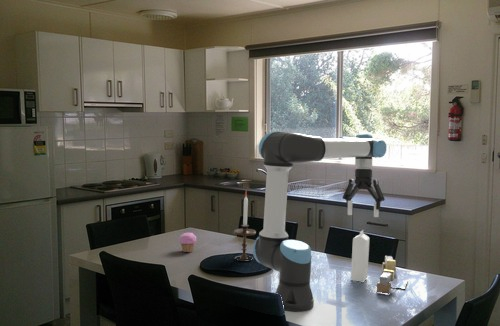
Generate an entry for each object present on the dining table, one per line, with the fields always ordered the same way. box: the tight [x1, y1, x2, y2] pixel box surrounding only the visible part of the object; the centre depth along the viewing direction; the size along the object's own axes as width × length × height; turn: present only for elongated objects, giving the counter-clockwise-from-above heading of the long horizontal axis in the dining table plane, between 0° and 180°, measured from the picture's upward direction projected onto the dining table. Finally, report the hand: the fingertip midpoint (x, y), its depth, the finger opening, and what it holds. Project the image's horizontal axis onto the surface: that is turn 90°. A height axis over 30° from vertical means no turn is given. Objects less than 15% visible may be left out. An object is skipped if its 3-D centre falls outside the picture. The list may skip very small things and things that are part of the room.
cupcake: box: [178, 232, 197, 253], centre depth 252 cm, size 9×9×10 cm
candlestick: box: [233, 190, 257, 261], centre depth 240 cm, size 11×11×35 cm
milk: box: [350, 229, 370, 282], centre depth 216 cm, size 6×6×22 cm
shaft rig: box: [376, 255, 397, 294], centre depth 213 cm, size 34×12×8 cm, turn 158°
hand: (362, 216), depth 220 cm, fingers open, 13 cm apart
